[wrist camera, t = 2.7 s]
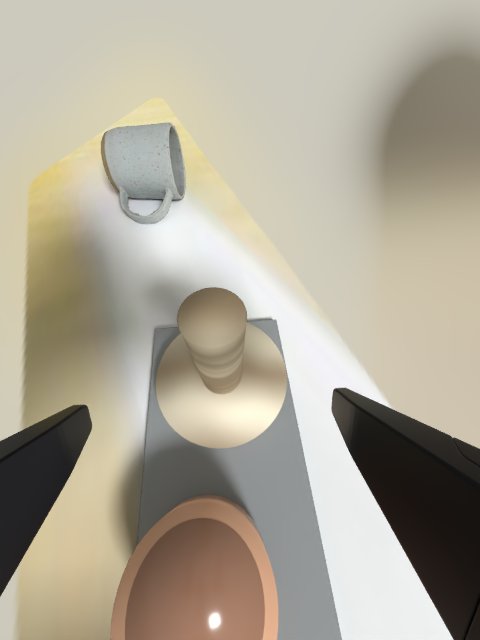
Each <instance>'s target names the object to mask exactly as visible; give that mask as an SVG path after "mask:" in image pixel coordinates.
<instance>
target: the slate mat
mask: <svg viewBox="0 0 480 640" xmlns="http://www.w3.org/2000/svg"><path fill="white" fill-rule="evenodd" d="M247 323H249V324H252V325H254V326H255V327H257V328H259V329H260V330H262V331H263V332H264V333H265V334H267V335H268V336H269V337H270V338H271V340H272V341H273V342H274V343H275V345H276V346H277V348H278V350H279V351H280V353H281V355H282V358H283V360H284V355H283V351H282V346H281V341H280V336H279V331H278V326H277V321H276V320H264V321H251V322H247ZM179 334H181V332H180V329H179V327H176V328H163V329H156V330H155V342H154V353H153V365H152V376H151V388H150V399H149V411H148V422H147V434H146V445H145V457H144V468H143V480H142V491H141V503H140V514H139V526H138V537H137V546H138V544H139V543H140V541H141V540H142V538H143V537H144V536H145V535H146V534H147V532H148V531H149V530H150V529H151V528H152V527H153V526H154V525H155V524H156V523H157V522H158V521H159V520H161V519H162V518H163V517H164V516H165V515H166V514H167V513H168V512H169V511H171V510H172V509H173V508H174V507H175V506H177V505H178V504H180V503H181V502H183V501H185V500H187V499H189V498H192V497H194V496H198V495H205V494H212V495H219V496H223V497H226V498H228V499H230V500H232V501H234V502H235V503H237V504H238V505H239V506H240V507H242V508H243V509H244V510H245V511H246V512H247V513H248V515H249V516H250V517H251V518H252V520H253V521H254V523H255V524H256V526H257V528H258V530H259V532H260V534H261V537H262V540H263V542H264V545H265V548H266V551H267V554H268V557H269V560H270V563H271V567H272V571H273V574H274V578H275V583H276V589H277V597H278V634H277V640H342V638H341V633H340V628H339V623H338V618H337V613H336V609H335V604H334V599H333V594H332V589H331V584H330V579H329V575H328V570H327V565H326V560H325V555H324V550H323V545H322V540H321V536H320V531H319V526H318V521H317V516H316V511H315V506H314V501H313V497H312V492H311V487H310V482H309V477H308V472H307V467H306V463H305V458H304V453H303V448H302V443H301V438H300V433H299V428H298V424H297V419H296V414H295V409H294V404H293V399H292V394H291V390H290V385H289V380H288V375H287V388H286V394H285V398H284V402H283V405H282V407H281V410H280V411H279V413H278V415H277V417H276V418H275V420H274V421H273V422H272V423H271V425H270V426H269V427H268V428H267V429H266V430H265V431H264V432H263V433H261V434H260V435H259V436H257V437H256V438H254V439H252V440H251V441H249V442H247V443H245V444H242V445H239V446H236V447H231V448H220V449H219V448H208V447H204V446H200V445H197V444H195V443H192V442H190V441H188V440H187V439H185V438H183V437H182V436H181V435H179V434H178V433H177V432H176V431H175V430H174V429H173V428H172V427H171V426H170V425H169V424H168V422H167V421H166V419H165V417H164V416H163V414H162V412H161V409H160V407H159V403H158V400H157V394H156V376H157V371H158V367H159V364H160V361H161V359H162V356H163V355H164V353H165V351H166V349H167V348H168V346H169V345H170V344H171V343H172V341H173V340H174V339H175V338H176V337H177V336H178V335H179ZM284 364H285V360H284ZM285 367H286V365H285ZM286 374H287V370H286Z"/></svg>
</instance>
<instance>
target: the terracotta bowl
mask: <svg viewBox="0 0 480 640" xmlns="http://www.w3.org/2000/svg"><path fill="white" fill-rule="evenodd" d="M277 634H278V597H277V589H276V583H275V578H274V574H273V571H272V567H271V563H270V560H269V557H268V554H267V551H266V548H265V545H264V542H263V540H262V537H261V534H260V532H259V530H258V528H257V526H256V524H255V523H254V521H253V520H252V518H251V517H250V516H249V515H248V513H247V512H246V511H245V510H244V509H243V508H242V507H240V506H239V505H238V504H237V503H235V502H234V501H232V500H230V499H228V498H226V497H223V496H219V495H212V494H205V495H198V496H194V497H192V498H189V499H187V500H185V501H183V502H181V503H180V504H178V505H177V506H175V507H174V508H173V509H172V510H171V511H169V512H168V513H167V514H166V515H165V516H164V517H163V518H162V519H161V520H159V521H158V522H157V523H156V524H155V525H154V526H153V527H152V528H151V529H150V530H149V531H148V532H147V534H146V535H145V536H144V537H143V538H142V540H141V541H140V543H139V544H138V546H137V547H136V549H135V550H134V552H133V554H132V556H131V558H130V559H129V561H128V564H127V566H126V568H125V570H124V573H123V575H122V578H121V581H120V584H119V587H118V590H117V594H116V598H115V603H114V608H113V615H112V622H111V640H277Z"/></svg>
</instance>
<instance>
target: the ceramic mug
mask: <svg viewBox="0 0 480 640" xmlns="http://www.w3.org/2000/svg"><path fill="white" fill-rule="evenodd" d="M101 155H102V161H103V165H104V168H105V171H106V173H107V176H108V178H109V180H110V182H111V184H112V185H113V187H114V188H115V189H116V190H117V191H118V192H119V198H120V203H121V206H122V208H123V209H124V211H125V212H126V214H127V215H128V216H129V217H130V218H131V219H133V220H134V221H136V222H138V223H142V224H153V223H156V222H158V221H160V220H161V219H163V218H164V217H165V215H166V214H167V213H168V211H169V208H170V205H171V201H172V199H183V197H184V194H185V188H186V177H185V166H184V159H183V154H182V149H181V145H180V141H179V137H178V134H177V131H176V129H175V127H174V126H173V125H172V124H171V123H160V124H151V125H140V126H126V127H117V128H114V129H111V130H109V131H107V132H105V133H104V135H103V138H102V141H101ZM128 197H131V198H152V199H164V200H163V202H162V204H161V206H160V207H159V208H158V209H157V210H156V211H155V212H153V213H152V214H150V215H148V216H140V215H139V214H136V213H133V212H132V211H130V210H129V207H128Z"/></svg>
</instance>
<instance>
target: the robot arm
mask: <svg viewBox="0 0 480 640" xmlns="http://www.w3.org/2000/svg"><path fill="white" fill-rule="evenodd" d="M332 413H333V416H334V418H335V420H336V423H337V425H338V427H339V430H340V432H341V434H342V437H343V439H344V441H345V443H346V446H347V448H348V450H349V452H350V454H351V456H352V458H353V460H354V462H355V463H356V465H357V467H358V469H359V471H360V472H361V474H362V476H363V478H364V480H365V481H366V483H367V485H368V487H369V489H370V490H371V492H372V494H373V496H374V498H375V499H376V501H377V503H378V505H379V507H380V508H381V510H382V512H383V514H384V515H385V517H386V519H387V521H388V523H389V524H390V526H391V528H392V530H393V532H394V533H395V535H396V537H397V539H398V541H399V542H400V544H401V546H402V548H403V550H404V551H405V553H406V555H407V557H408V559H409V560H410V562H411V564H412V566H413V568H414V569H415V571H416V573H417V575H418V576H419V578H420V580H421V582H422V584H423V585H424V587H425V589H426V591H427V593H428V594H429V596H430V598H431V600H432V602H433V603H434V605H435V607H436V609H437V611H438V612H439V614H440V616H441V618H442V620H443V621H444V623H445V625H446V627H447V629H448V630H449V632H450V634H451V636H452V637H453V639H454V640H480V449H479V448H476V447H474V446H472V445H470V444H467V443H465V442H463V441H461V440H459V439H457V438H452V437H451V436H450V435H448V434H445V433H443V432H441V431H439V430H437V429H435V428H432V427H430V426H428V425H426V424H424V423H421V422H419V421H417V420H415V419H412V418H410V417H408V416H406V415H404V414H402V413H399V412H397V411H395V410H393V409H391V408H389V407H386V406H384V405H382V404H380V403H378V402H375V401H373V400H371V399H369V398H367V397H364V396H362V395H360V394H358V393H356V392H354V391H351V390H349V389H347V388H335V389H334V390H333V397H332ZM91 429H92V422H91V418H90V414H89V410H88V407H87V406H86V405H73V406H71V407H69V408H67V409H65V410H63V411H61V412H58V413H56V414H54V415H52V416H50V417H48V418H46V419H44V420H42V421H40V422H38V423H36V424H34V425H32V426H30V427H28V428H26V429H24V430H22V431H20V432H18V433H16V434H14V435H12V436H10V437H8V438H6V439H4V440H2V441H0V596H1V594H2V593H3V591H4V589H5V588H6V586H7V584H8V582H9V581H10V579H11V577H12V576H13V574H14V572H15V570H16V569H17V567H18V565H19V563H20V562H21V560H22V558H23V557H24V555H25V553H26V551H27V550H28V548H29V546H30V544H31V543H32V541H33V539H34V537H35V536H36V534H37V532H38V531H39V529H40V527H41V525H42V524H43V522H44V520H45V518H46V517H47V515H48V513H49V511H50V510H51V508H52V506H53V505H54V503H55V501H56V499H57V498H58V496H59V494H60V492H61V491H62V489H63V487H64V486H65V484H66V482H67V480H68V478H69V477H70V475H71V473H72V471H73V469H74V467H75V464H76V462H77V460H78V458H79V456H80V454H81V452H82V449H83V447H84V445H85V443H86V441H87V439H88V436H89V434H90V432H91Z"/></svg>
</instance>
